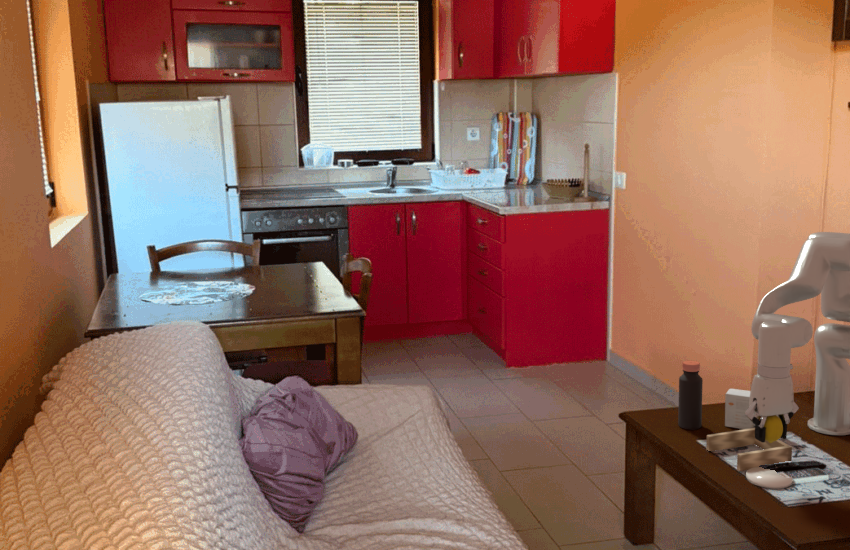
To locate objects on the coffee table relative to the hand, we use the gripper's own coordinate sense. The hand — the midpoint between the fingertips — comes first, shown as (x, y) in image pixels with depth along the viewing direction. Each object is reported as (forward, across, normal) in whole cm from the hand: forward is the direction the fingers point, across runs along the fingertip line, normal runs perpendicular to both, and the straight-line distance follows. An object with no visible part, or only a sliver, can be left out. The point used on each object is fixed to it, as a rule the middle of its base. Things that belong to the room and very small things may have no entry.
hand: (770, 438), depth 208 cm
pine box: (+11, -4, -14) cm, 18 cm away
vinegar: (+11, -2, -39) cm, 41 cm away
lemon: (+1, 0, 0) cm, 1 cm away
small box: (+11, -16, -34) cm, 39 cm away
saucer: (+11, 0, 0) cm, 11 cm away
